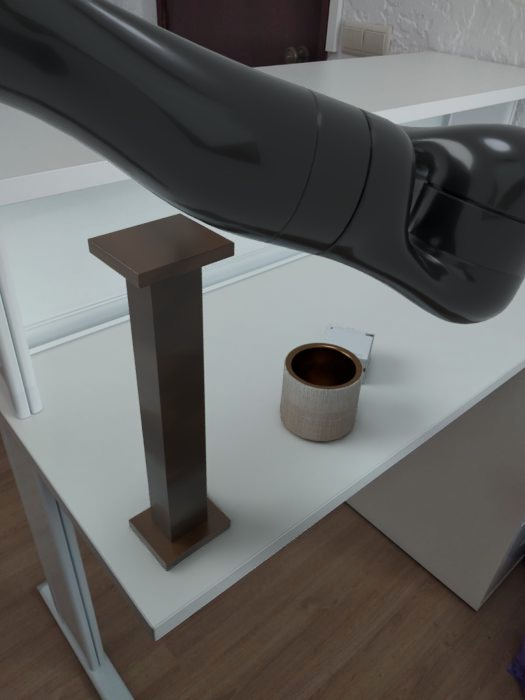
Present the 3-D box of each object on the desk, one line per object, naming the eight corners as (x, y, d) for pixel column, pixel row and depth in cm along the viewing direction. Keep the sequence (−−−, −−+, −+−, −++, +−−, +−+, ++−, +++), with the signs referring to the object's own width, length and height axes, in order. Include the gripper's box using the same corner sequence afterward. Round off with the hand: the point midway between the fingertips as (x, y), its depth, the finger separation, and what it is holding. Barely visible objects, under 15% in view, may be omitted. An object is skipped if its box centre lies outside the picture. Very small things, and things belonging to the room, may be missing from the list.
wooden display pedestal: (166, 571, 62) (138, 274, 42) (129, 526, 67) (87, 238, 46) (231, 526, 67) (234, 242, 47) (192, 488, 72) (180, 212, 51)
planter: (265, 408, 85) (268, 355, 79) (324, 385, 90) (330, 333, 84) (308, 455, 77) (315, 400, 72) (370, 427, 82) (381, 373, 77)
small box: (314, 375, 92) (317, 349, 89) (324, 348, 98) (327, 322, 95) (363, 386, 90) (368, 359, 87) (370, 358, 96) (375, 332, 93)
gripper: (383, 85, 44) (263, 50, 55) (215, 99, 37) (120, 57, 49) (368, 182, 48) (260, 131, 60) (216, 210, 42) (128, 147, 53)
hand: (197, 98), depth 54 cm, fingers closed on robot figurine, 4 cm apart
